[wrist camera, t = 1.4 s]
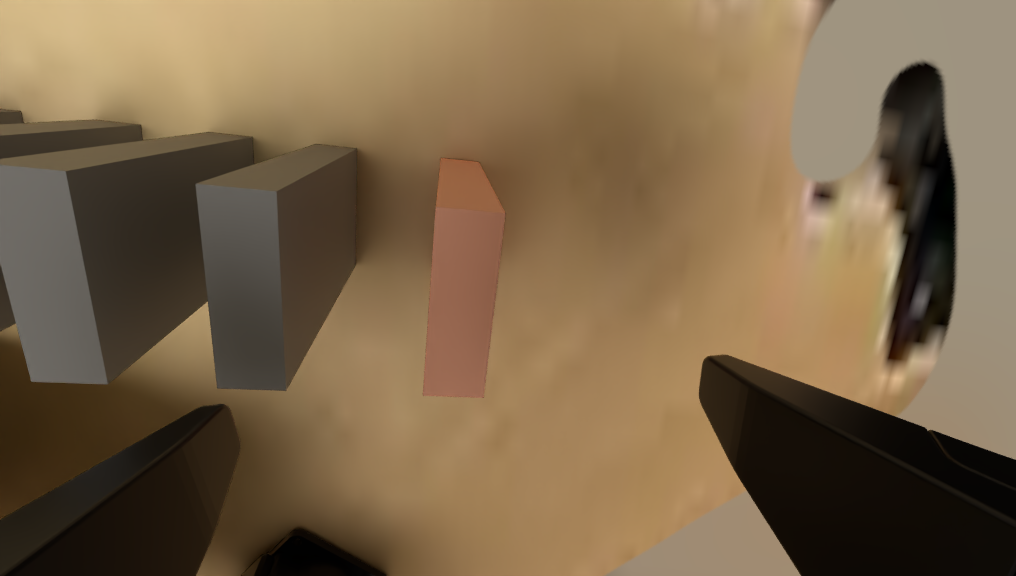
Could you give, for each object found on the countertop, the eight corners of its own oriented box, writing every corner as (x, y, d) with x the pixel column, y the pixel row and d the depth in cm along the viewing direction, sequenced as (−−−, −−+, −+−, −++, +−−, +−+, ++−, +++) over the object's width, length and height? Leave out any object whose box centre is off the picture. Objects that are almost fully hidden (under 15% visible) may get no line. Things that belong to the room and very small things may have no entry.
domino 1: (478, 162, 20) (505, 213, 11) (468, 273, 22) (483, 397, 13) (440, 157, 20) (435, 206, 11) (433, 270, 22) (422, 395, 13)
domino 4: (140, 124, 18) (-175, 148, 9) (158, 249, 20) (-91, 377, 11) (93, 119, 18) (-280, 139, 9) (115, 246, 20) (-176, 374, 11)
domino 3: (252, 136, 19) (65, 170, 10) (259, 257, 21) (107, 384, 11) (208, 132, 19) (-27, 162, 9) (219, 254, 20) (31, 381, 11)
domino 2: (356, 148, 20) (276, 191, 10) (355, 264, 21) (286, 390, 12) (315, 143, 19) (195, 183, 10) (318, 261, 21) (217, 388, 12)
